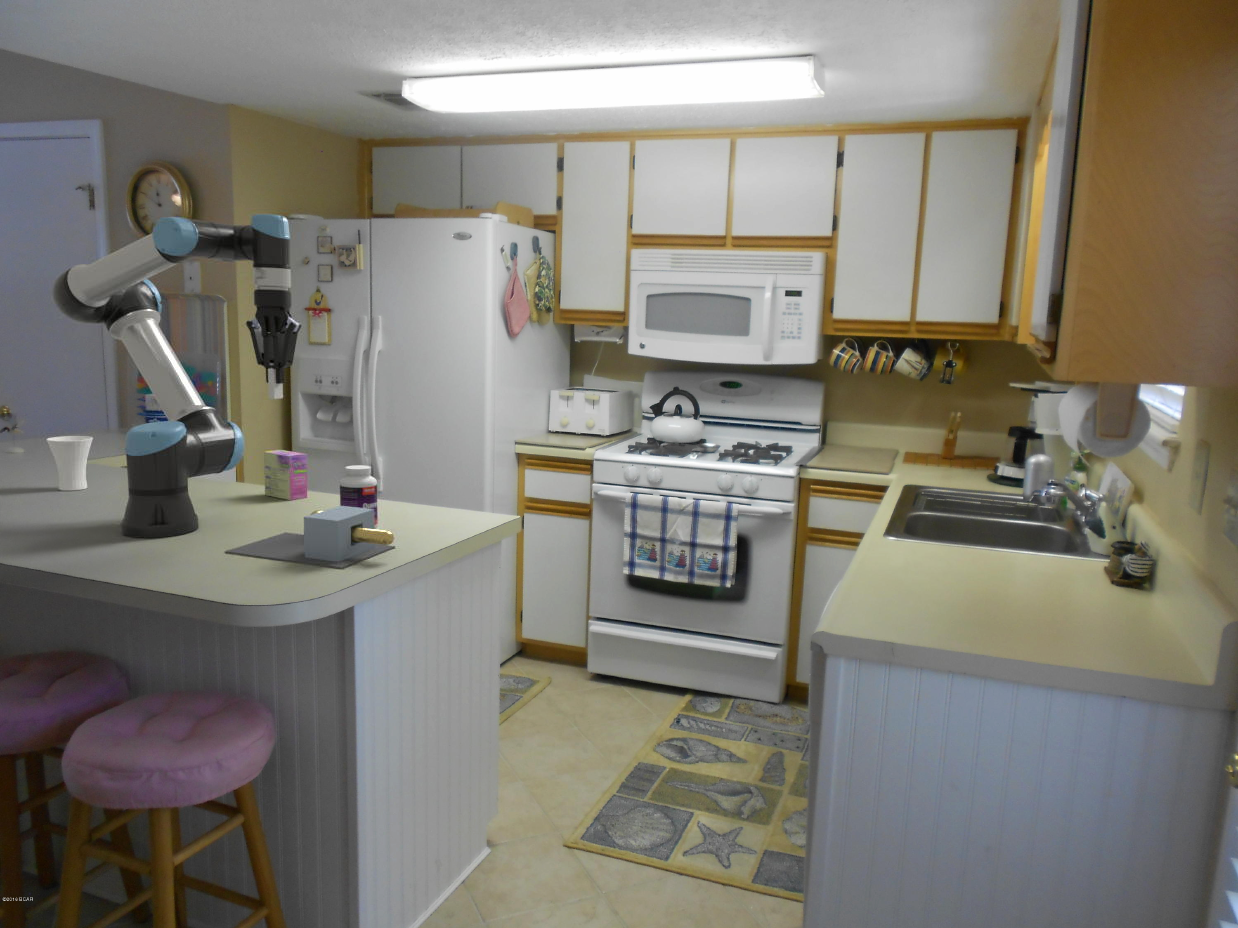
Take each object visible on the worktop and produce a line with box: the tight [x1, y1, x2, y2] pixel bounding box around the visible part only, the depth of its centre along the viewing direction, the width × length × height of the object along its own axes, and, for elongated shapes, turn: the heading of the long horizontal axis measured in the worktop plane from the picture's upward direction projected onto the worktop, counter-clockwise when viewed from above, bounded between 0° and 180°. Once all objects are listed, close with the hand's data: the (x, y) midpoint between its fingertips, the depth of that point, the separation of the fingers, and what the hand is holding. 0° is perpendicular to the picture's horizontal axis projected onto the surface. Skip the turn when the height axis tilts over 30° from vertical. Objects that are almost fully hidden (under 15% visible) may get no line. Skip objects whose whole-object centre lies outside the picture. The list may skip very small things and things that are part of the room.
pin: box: [309, 509, 395, 546], centre depth 180 cm, size 18×8×8 cm, turn 71°
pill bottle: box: [339, 464, 379, 530], centre depth 201 cm, size 8×8×14 cm
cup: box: [46, 435, 94, 492], centre depth 238 cm, size 10×10×14 cm
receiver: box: [303, 505, 376, 562], centre depth 181 cm, size 8×12×8 cm, turn 161°
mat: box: [224, 532, 396, 570], centre depth 184 cm, size 28×18×1 cm, turn 71°
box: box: [263, 449, 308, 501], centre depth 236 cm, size 10×6×12 cm, turn 58°
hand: (276, 398), depth 197 cm, fingers closed
